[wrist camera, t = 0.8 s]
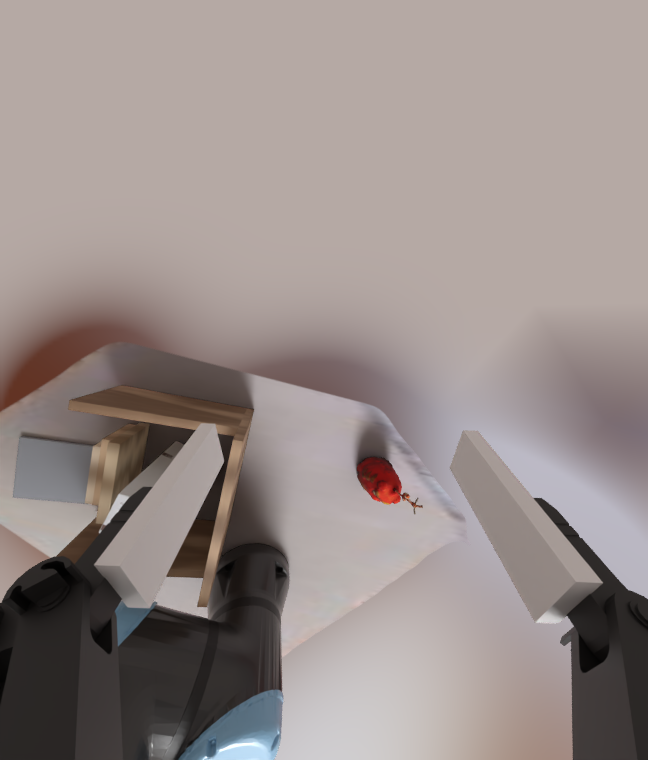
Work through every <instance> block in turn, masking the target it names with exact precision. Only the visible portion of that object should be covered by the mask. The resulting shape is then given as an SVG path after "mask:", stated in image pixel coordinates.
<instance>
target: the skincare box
mask: <svg viewBox="0 0 648 760" xmlns="http://www.w3.org/2000/svg"><path fill="white" fill-rule="evenodd" d="M183 446H184V444H182V443H180V442H178V441H176V442H174V443H173V444H172V445H171V446H170V447H169V448H168V449H167V450H166V451H165V452H163V453H162V454H161V455H160V456H159V457H158V458H157V459H156V460H155V461H154V462H153V463H151V464H150V465H149V466H148V467H147V468H146V469H145V470H144V471H143V472H142V473H140V474H139V475H138V476H137V477H136V478H135V479H134V480H133V481H132V482H131V483H130V484H129V485H127V486H126V487H125V488H124V489H123V490H122V491H121V492H120V493H119V494H118V496H117V498H116V500H115V502H114V504H113V506H112V508H111V510H110V512H109V513H108V515H107V517H106V519H105V521H104V523H103V525H102V526H101V528H100V530H99V533H100V532H101V531H102V530H103V529H104V528H105V526H106V525H107V524H108V523H110V520H111V519H112V518H113V517H114V515H115V514H116V513H118V512H119V509H120V508H121V507H122V506H123V504H124V503H125V502H126V501H127V500H128V498H129V497H130V496H132V495H133V494H134V493H136V492H137V491H138V490H139V489H141V488H142V487H153V486H154V485H155V483H156V482H157V481H158V480H159V478H160V477H161V476H162V474H163V473H164V472H165V470H166V469H167V468H168V466H169V465H170V464H171V462H172V461H173V460H174V458H175V457H176V456H177V454H178V453H179V452H180V450H181V449H182V448H183Z"/></svg>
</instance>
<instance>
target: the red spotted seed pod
mask: <svg viewBox="0 0 648 760" xmlns="http://www.w3.org/2000/svg"><path fill="white" fill-rule="evenodd" d="M357 471H358V475H357V477H358V479H359V481H360V483H361V485H362V487H363V488H364V489H365V490H366V491H367V492H368V493H369V494H370V495H371V497H372V499H374V500H376V501H379V502H382V503H384V504H388V505H389V504H391V503H394V504H396V503H398V502H400V500H401V498H400V496H402V499H403V501H406V500H407V501H408V502H410V503H411V504H412V506H413V507H414V514H416V513H415V508H416V507H420V508H423V507H422V505H421V506H419V505H416V502H417V500H418V498H417V500H416V502H415V503H414V502H411V501H410V499H409V497H410V496H409V494H407V493H403V495H401V494H400V493H401V488H402V486H401V482H400V480H399V477H398V475H397V474H396V472H395V470H394V469H393V467H392V464H391V463H390V462H389V461H388V460H386V459H385V458H382V457H381V458H378V457H370V458H366V459H364V460H363V462H362V463H359V464H358V466H357Z"/></svg>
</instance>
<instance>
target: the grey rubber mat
mask: <svg viewBox="0 0 648 760" xmlns="http://www.w3.org/2000/svg"><path fill="white" fill-rule="evenodd" d="M93 446H94V445H86V444H79V443H72V442H64V441H57V440H49V439H42V438H34V437H27V436H21V437H19V444H18V454H17V463H16V472H15V481H14V490H13V497H14V498H25V499H36V500H48V501H59V502H70V503H81V504H86V503H85V497H86V491H87V484H88V477H89V470H90V463H91V456H92V449H93Z"/></svg>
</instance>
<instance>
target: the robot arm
mask: <svg viewBox="0 0 648 760" xmlns="http://www.w3.org/2000/svg"><path fill="white" fill-rule="evenodd" d="M223 463H224V458H223V454H222V450H221V446H220V442H219V438H218V433H217V429H216V425H215V424H206V423H201V424H200V425H199V427H198V428H197V429H196V431H195V432H194V433H193V435H192V436H191V437H190V438H189V440H188V441H187V442H186V444H185V445H184V446H183V448H182V449H181V450H180V452H179V453H178V454H177V456H176V457H175V458H174V460H173V461H172V462H171V464H170V465H169V466H168V468H167V469H166V470H165V472H164V473H163V474H162V476H161V477H160V478H159V480H158V481H157V482H156V483H155V485H154V486H153V487H142V488H141V489H139V490H138V491H137V492H136V493H134V494H133V495H132V496H130V497H129V498H128V500H127V501H126V502H125V503H124V504H123V506H122V507H121V508H120V509H119V512H118V513H116V514H115V515H114V517H113V518H112V519H111V520H110V523H108V524H107V525H106V526H105V528H104V529H103V530H102V531H101V532H100V534H99V535H98V536H97V537H96V539H95V540H94V541H93V542H92V543H91V545H90V546H89V547H88V548H87V550H86V551H85V552H84V553H83V554H82V556H81V557H80V558H79V559H78V561H77V562H76V563H75V564H74V563H73V562H72V561H71V560H70V559H69V558H67V557H65V556H58V557H53V558H50V559H47V560H45V561H42V562H40V563H39V564H37V565H35V566H34V567H32V568H31V569H29V570H28V571H27V572H25V573H24V574H23V575H22V576H21V577H19V578H18V579H17V580H16V581H15V582H14V584H13V585H12V586H11V587H10V588H9V590H8V591H7V593H6V595H5V596H4V599H3V601H2V603H0V760H274V759H275V757H276V754H277V751H278V749H279V745H280V740H281V725H282V704H283V693H282V659H281V615H282V611H283V608H284V604H285V600H286V597H287V593H288V589H289V566H288V563H287V561H286V559H285V557H284V556H283V555H282V554H281V553H280V552H279V551H278V550H276V549H275V548H273V547H270V546H267V545H263V544H248V545H243V546H240V547H237V548H235V549H233V550H231V551H229V552H228V553H226V554H225V555H224V556H223V557H221V558H220V560H219V563H218V567H217V571H216V575H215V579H214V582H213V586H212V590H211V594H210V597H209V601H208V605H207V607H208V619H207V618H203V617H200V616H196V615H192V614H188V613H184V612H181V611H177V610H173V609H170V608H166V607H163V606H159V605H156V604H157V602H153V601H154V599H155V597H156V595H157V593H158V591H159V589H160V587H161V585H162V583H163V581H164V579H165V577H166V575H167V573H168V571H169V570H170V568H171V566H172V564H173V562H174V560H175V558H176V556H177V554H178V552H179V550H180V548H181V546H182V544H183V542H184V540H185V538H186V536H187V534H188V532H189V530H190V528H191V526H192V524H193V522H194V520H195V518H196V516H197V514H198V512H199V510H200V508H201V506H202V504H203V502H204V500H205V498H206V496H207V494H208V493H209V491H210V489H211V487H212V485H213V483H214V481H215V479H216V477H217V475H218V473H219V471H220V469H221V467H222V465H223ZM450 469H451V471H452V473H453V475H454V477H455V479H456V480H457V482H458V484H459V486H460V487H461V489H462V491H463V493H464V495H465V497H466V499H467V500H468V502H469V504H470V505H471V508H472V509H473V511H474V513H475V515H476V517H477V518H478V520H479V522H480V523H481V525H482V527H483V529H484V531H485V533H486V534H487V536H488V538H489V540H490V542H491V544H492V545H493V547H494V549H495V551H496V553H497V554H498V556H499V558H500V560H501V561H502V563H503V565H504V567H505V569H506V571H507V573H508V574H509V576H510V578H511V580H512V582H513V583H514V585H515V587H516V589H517V591H518V592H519V594H520V596H521V598H522V600H523V602H524V603H525V605H526V607H527V609H528V611H529V612H530V614H531V616H532V618H533V619H534V621H535V622H536V623H559V622H560V621H561V620H563V618H565V617H566V616H568V618H569V619H570V621H571V622H572V623H573V625H574V627H573V628H572V629H571V630H570V631H569V632H567V633H566V634H565V635H564V636H562V638H561V641H560V643H561V644H562V645H564V646H565V645H566V644H568V643H569V642H570V641H571V657H572V659H571V660H572V661H571V662H572V728H573V729H572V731H573V760H648V599H647V598H645V597H644V596H641V595H639V594H637V593H635V592H632V591H629V590H628V589H626V587H625V586H624V585H623V584H622V583H621V582H620V581H619V580H618V579H617V578H616V577H615V575H614V574H613V573H612V572H611V571H610V570H609V569H608V568H607V566H606V565H605V564H604V563H603V562H602V561H601V560H600V558H599V557H598V556H597V555H596V554H595V553H594V552H593V550H592V549H591V548H590V547H589V546H588V545H587V544H586V543H585V542H584V540H583V539H582V538H580V537H579V535H578V533H577V532H576V531H575V530H574V529H573V528H572V527H571V526H569V523H568V522H567V521H566V520H565V519H564V518H563V516H562V515H561V514H560V513H559V512H558V511H557V510H556V509H555V508H554V507H552V506H551V505H549V504H548V503H547V502H546V501H545V500H543V499H542V498H533V497H532V496H531V495H530V494H529V492H528V491H527V490H526V489H525V488H524V486H523V485H522V484H521V483H520V481H519V480H518V479H517V478H516V477H515V476H514V474H513V473H512V472H511V471H510V469H509V468H508V467H507V466H506V465H505V463H504V462H503V461H502V460H501V458H500V457H499V456H498V455H497V454H496V452H495V451H494V450H493V449H492V448H491V447H490V445H489V444H488V443H487V442H486V440H485V439H484V438H483V437H482V435H481V434H480V433H479V432H478V431H463V432H462V435H461V438H460V441H459V443H458V446H457V449H456V452H455V455H454V457H453V460H452V463H451V466H450ZM121 600H122V601H121Z"/></svg>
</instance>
